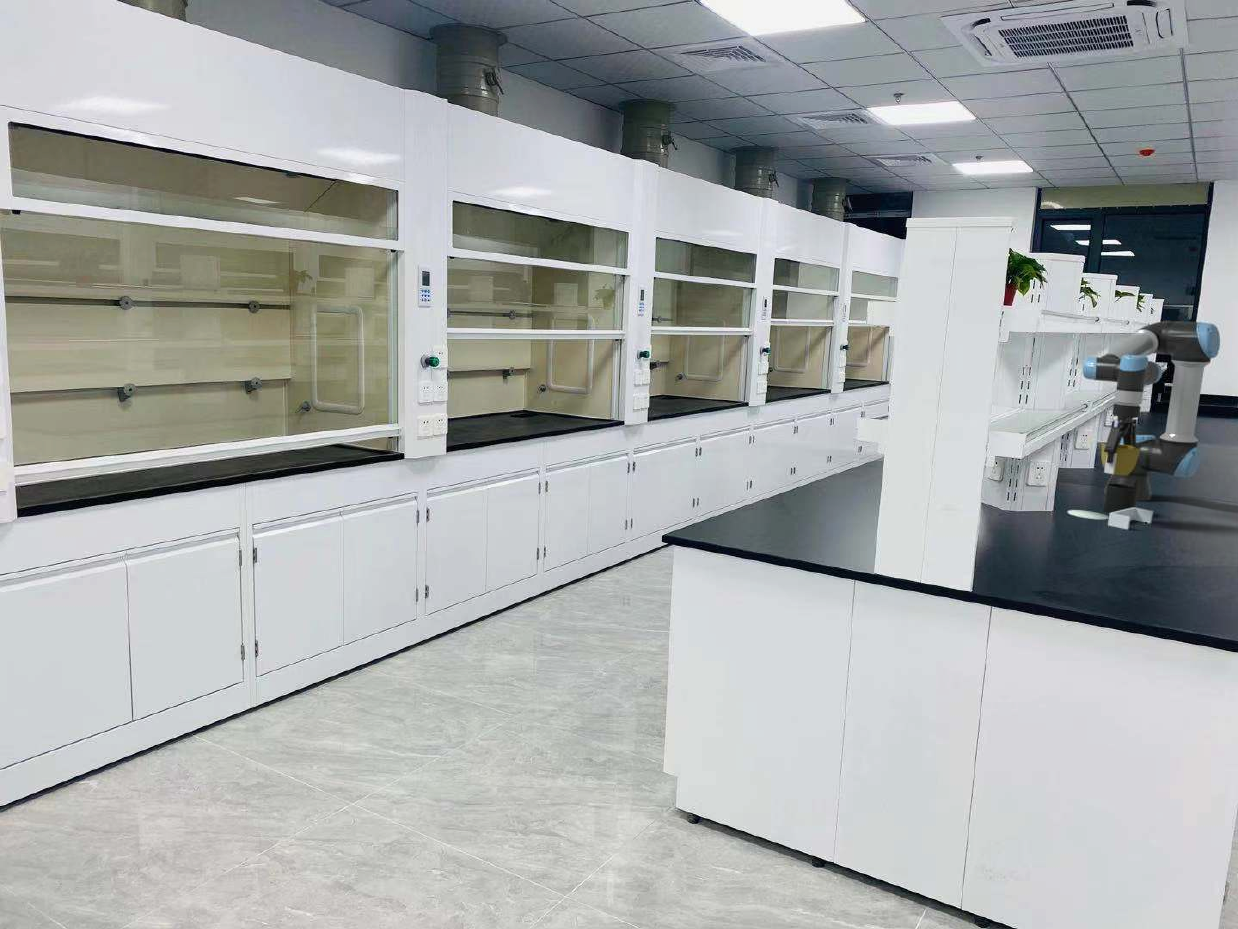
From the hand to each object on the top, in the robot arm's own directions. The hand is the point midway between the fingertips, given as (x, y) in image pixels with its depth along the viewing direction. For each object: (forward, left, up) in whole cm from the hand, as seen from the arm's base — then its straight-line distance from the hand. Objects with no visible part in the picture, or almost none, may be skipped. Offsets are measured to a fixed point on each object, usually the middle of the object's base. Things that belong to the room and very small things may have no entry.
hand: (1116, 471), depth 286 cm
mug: (-16, -3, -16) cm, 23 cm away
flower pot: (0, 0, -1) cm, 1 cm away
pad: (+1, -6, -16) cm, 17 cm away
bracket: (+1, +7, -16) cm, 17 cm away
